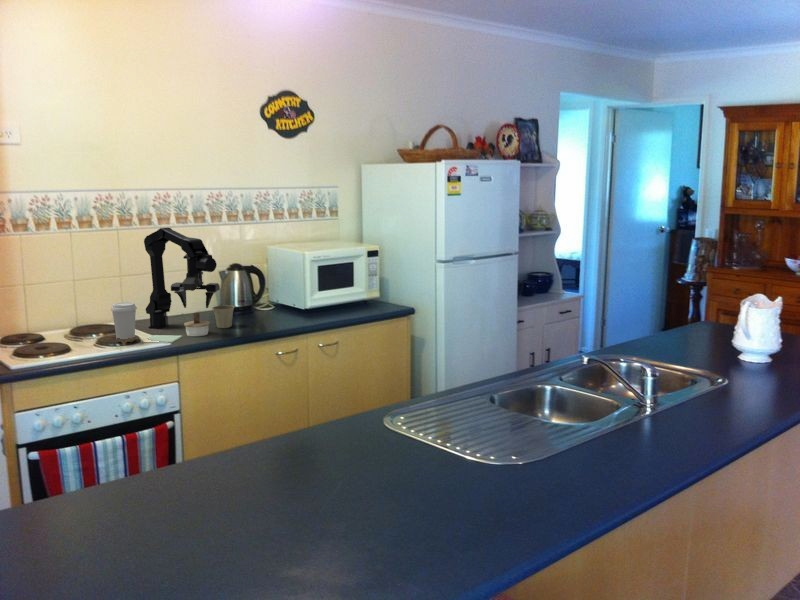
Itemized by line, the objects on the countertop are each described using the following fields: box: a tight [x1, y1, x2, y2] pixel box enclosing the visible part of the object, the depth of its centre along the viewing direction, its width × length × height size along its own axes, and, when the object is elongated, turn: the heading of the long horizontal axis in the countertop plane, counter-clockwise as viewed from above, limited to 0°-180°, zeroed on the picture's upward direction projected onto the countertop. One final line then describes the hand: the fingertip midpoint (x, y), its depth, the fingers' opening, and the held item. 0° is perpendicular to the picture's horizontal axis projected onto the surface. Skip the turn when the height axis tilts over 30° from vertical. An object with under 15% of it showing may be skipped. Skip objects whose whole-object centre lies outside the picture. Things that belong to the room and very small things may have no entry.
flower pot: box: [211, 304, 236, 329], centre depth 317 cm, size 9×9×9 cm
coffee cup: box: [110, 301, 138, 339], centre depth 287 cm, size 10×10×15 cm
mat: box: [146, 334, 183, 344], centre depth 292 cm, size 12×11×1 cm
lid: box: [183, 312, 210, 328], centre depth 301 cm, size 10×10×5 cm
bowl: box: [185, 325, 209, 337], centre depth 302 cm, size 8×8×4 cm
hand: (196, 307), depth 300 cm, fingers open, 9 cm apart
